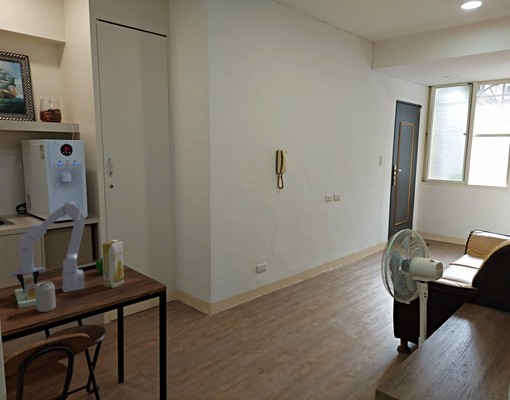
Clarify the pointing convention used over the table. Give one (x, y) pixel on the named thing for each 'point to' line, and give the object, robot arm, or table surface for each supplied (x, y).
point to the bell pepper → (99, 265)
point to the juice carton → (113, 263)
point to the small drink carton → (27, 281)
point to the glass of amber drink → (30, 291)
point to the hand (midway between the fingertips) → (29, 288)
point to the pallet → (23, 299)
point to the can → (45, 296)
